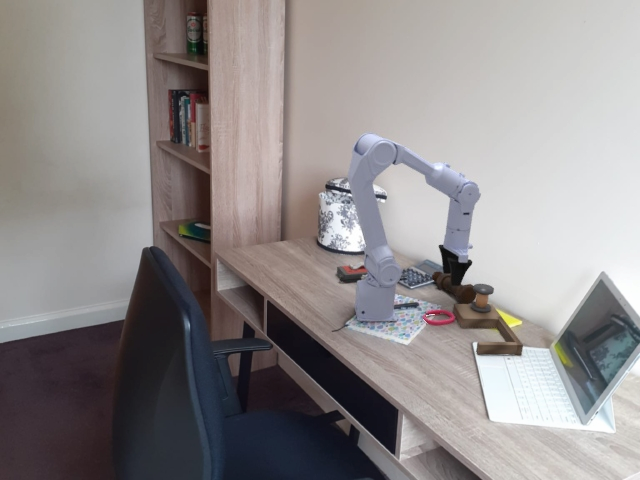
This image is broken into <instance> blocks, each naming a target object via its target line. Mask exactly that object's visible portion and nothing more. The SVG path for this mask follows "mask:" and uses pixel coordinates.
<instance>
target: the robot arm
mask: <svg viewBox="0 0 640 480" xmlns="http://www.w3.org/2000/svg"><path fill="white" fill-rule="evenodd" d="M351 153H352V155H351V160H350V164H349V167H348V172H347V182H348V183H347V184H348V186H349V189H350V193H351V197H352V200H353V205H354V208H355V212H356V216H357V218H358V222H359V227H360V229H361V233H362V237H363V242H364V245H365V247H364V248H363V251H364V258H363V262H364V267H365V268H366V270H367V271H368V273H367V277H366V279H364V280H359V281H357V282H356V287H355V299H354V311H355V314H356V317H357V321H358V322H387V321H388V322H389V323H390V321H396V322H397V321H398V318H397V315H396V313H395V311H394V309H395V300H396V289H397V287H396V286H397V284H398V282H400V279H401V278H402V277H401V275H402V274H403V271H402V268H401V265H400V264H398V263H397V262H398V261H396V260H395V258H396V257H395V256H394V253H393V251H392V249H391V248H390V246H389V244H388V239H387V236H386V231H385V228H384V224H383V219H382V216H381V212H380V208H379V204H378V201H377V196H376V193H375V189H374V185H373V183H374V181H375V180H376V178H377V177H378V176H379V175H380V174H382V173H383V172H384V171H385V170H387V168H389V167H390V166H391V165H394V166H397V165H400V164H403V165H405V166H407V167H408V168H410V169H412V170H413V171H416V172H417V173H419V174H421V175H423V176H424V179H425V182H426V184H427V185H429V186H431V187H432V188H433V189H435V190H436V191H439V192H441V194H444V195H446V196H447V197H448V198H449V202H448V203H449V204H448V212H447V213H448V214H447V220H446V226H445V234H444V239H443V244H439V245H438V249H439V252H440V256H441V261H442V262H441V263H442V265H441V266H442V273H445V274H451V276H450V279H451V285H452V286H460V285H462V282H463V280H464V277H465V276H466V275H465V274H466V273H467V272H468V270H469V268H470V267H471V266H472V265H473V261H472V259H469V253H468V252H469V250H472V249H474V247H473V244H472V243H469V241H470V235H471V227H472V223H473V215H474V210H475V206H476V204H477V203H478V202H479V200H480V198H481V196H482V193H481V192H480V187H479V186H478V184H477V183H476V182H475V181H472V180H470V179H468V178H466V175H465V174H464V173H462V172H457V171H455V170H454V169H452V168H451V164H449V163H447V162H440V161H439V162H435V163H431V162H430V161H428V160H426V159H425V158H423V157H422V156H420V155H419V154H417V153H416V152H415V151H413V150H411V149H409V148H408V147H406V146H405V145H403V144H400V143H399V142H396V141H393V140H392V139H391V140H390V139H389V138H385V137H382V136H379V135H378V134H377V133H374V132H365V133H363V134H361V135H360V136H359V137H358V138H357V140H356V141H355V143H354V144H353V145H352V147H351ZM388 322H387V323H388Z"/></svg>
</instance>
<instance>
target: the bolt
mask: <svg viewBox="0 0 640 480" xmlns="http://www.w3.org/2000/svg"><path fill="white" fill-rule="evenodd" d="M450 276H451V274H445V273H443V271H442V272H441V271H434V272H433V274H432V275H431V280H432V281H433V280H434V281H433V282H435V284H437V287H438V288H439V289H440V290H441V291H449V292H450V293H452V294H454V295H455V298H456V299H457V302H458V304H471V303H472V302H475V301H476V296H477V293H476V292H475V291H474V290H473V287H474V284H471V283H469V284H461V285H460V286H452V285H451V279H450Z"/></svg>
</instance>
